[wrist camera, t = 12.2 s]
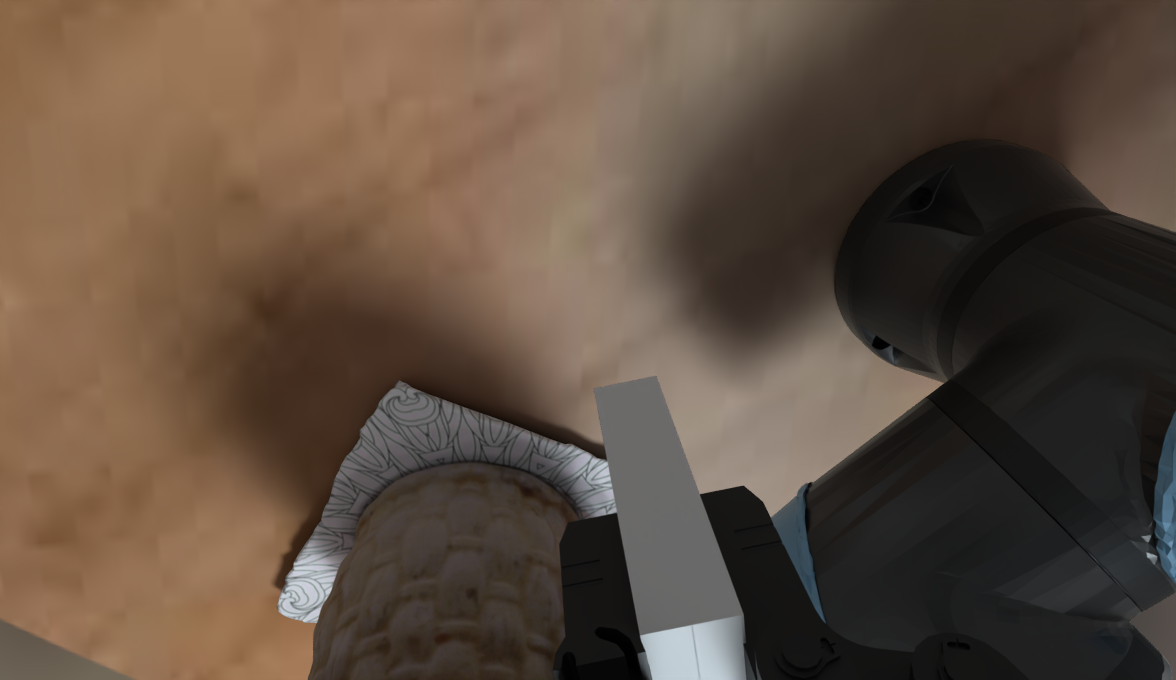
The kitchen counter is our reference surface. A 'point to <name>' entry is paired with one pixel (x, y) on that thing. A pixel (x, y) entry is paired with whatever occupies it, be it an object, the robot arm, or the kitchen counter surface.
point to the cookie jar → (443, 547)
